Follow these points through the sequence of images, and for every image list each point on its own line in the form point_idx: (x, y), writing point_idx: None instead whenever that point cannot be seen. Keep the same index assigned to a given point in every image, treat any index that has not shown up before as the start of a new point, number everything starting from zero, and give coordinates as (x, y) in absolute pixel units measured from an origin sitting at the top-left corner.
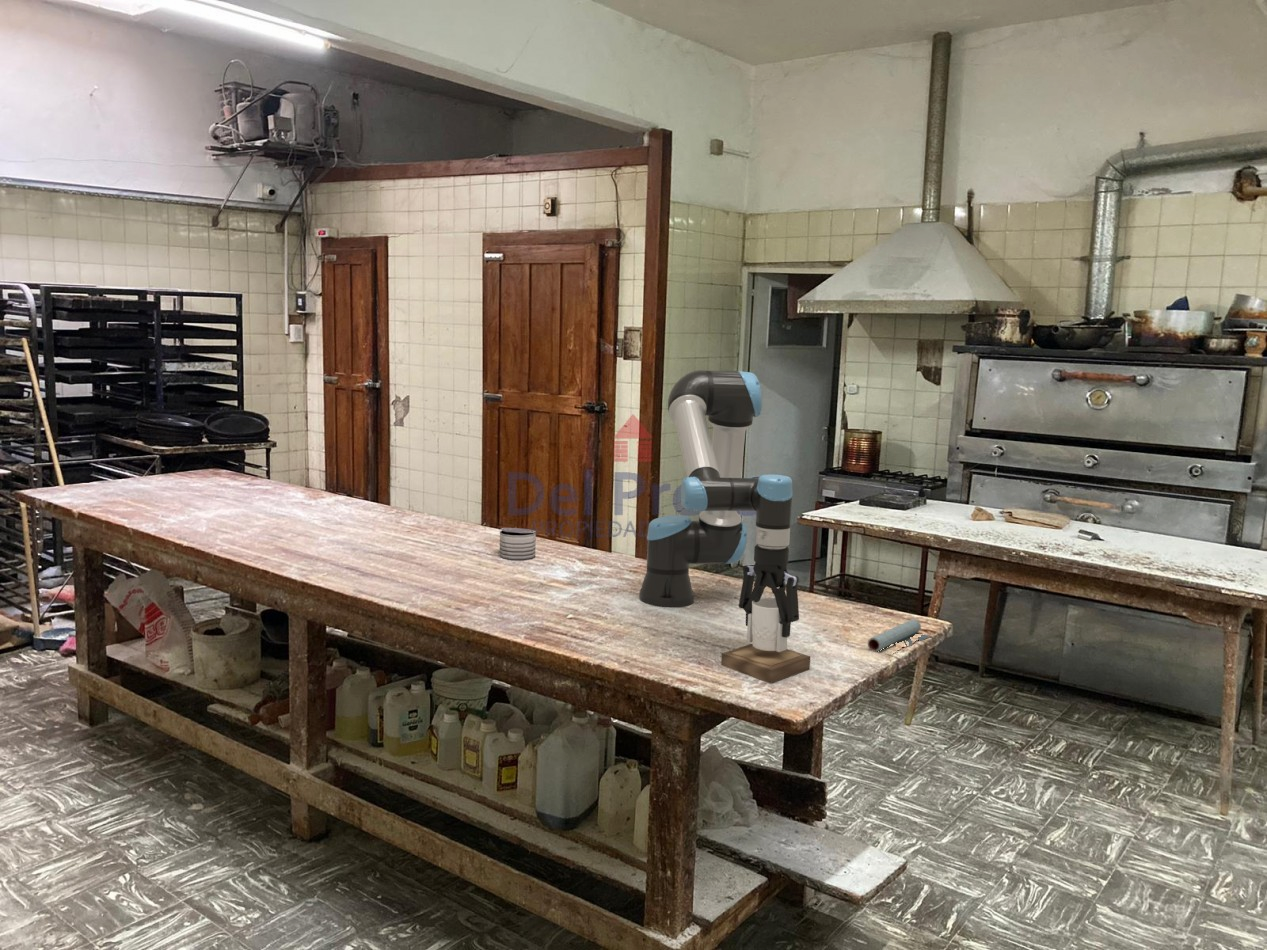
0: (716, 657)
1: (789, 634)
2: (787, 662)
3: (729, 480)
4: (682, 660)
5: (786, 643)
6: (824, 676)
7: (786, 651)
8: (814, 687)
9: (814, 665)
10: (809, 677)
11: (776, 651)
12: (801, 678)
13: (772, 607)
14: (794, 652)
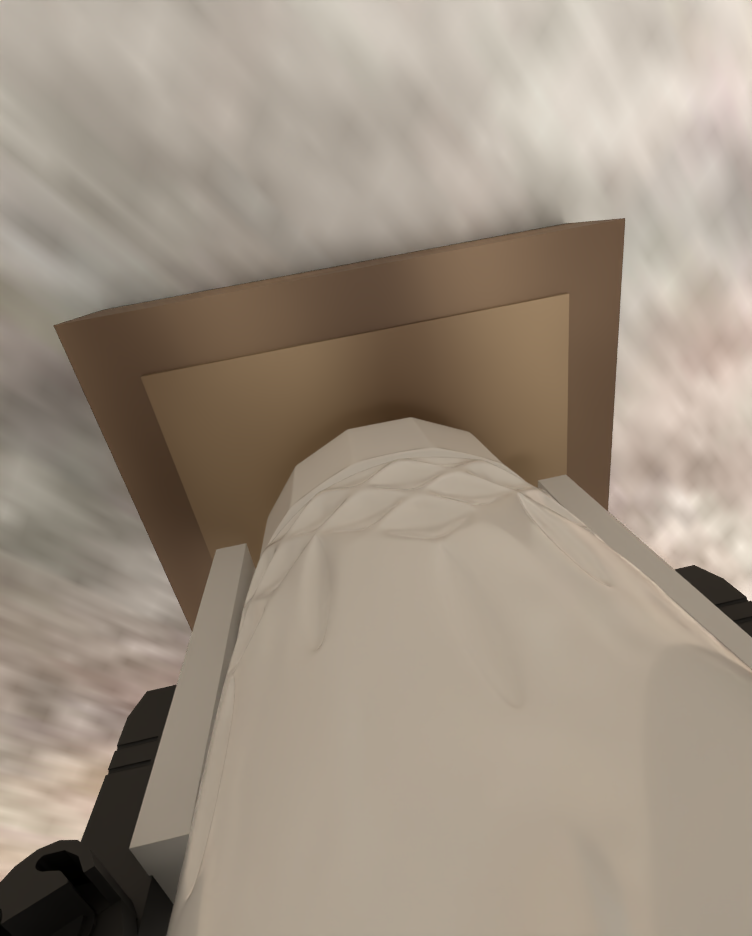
0: (92, 610)
1: (722, 588)
2: (586, 485)
3: None
4: (85, 756)
5: (597, 507)
6: (707, 238)
7: (430, 335)
8: (741, 433)
9: (536, 104)
10: (647, 346)
11: (385, 411)
12: (623, 402)
13: (328, 797)
14: (475, 275)
